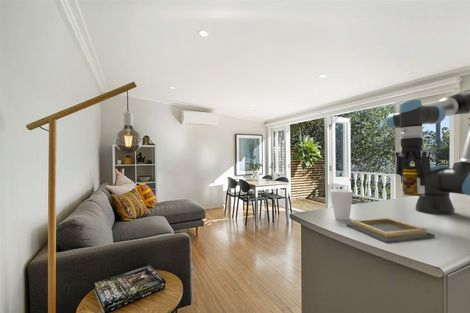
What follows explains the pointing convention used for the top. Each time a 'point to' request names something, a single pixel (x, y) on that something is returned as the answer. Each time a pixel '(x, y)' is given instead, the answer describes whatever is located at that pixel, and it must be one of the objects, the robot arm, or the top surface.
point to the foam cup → (341, 203)
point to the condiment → (410, 181)
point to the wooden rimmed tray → (389, 230)
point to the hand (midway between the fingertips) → (413, 192)
